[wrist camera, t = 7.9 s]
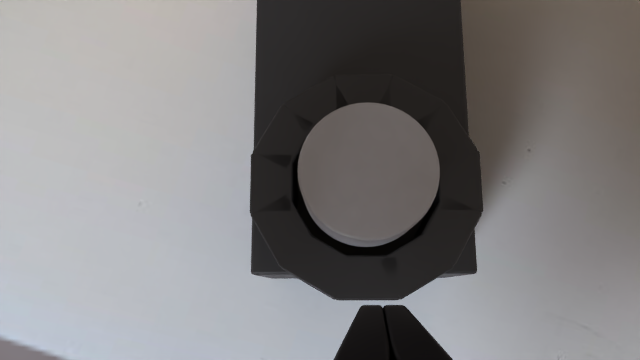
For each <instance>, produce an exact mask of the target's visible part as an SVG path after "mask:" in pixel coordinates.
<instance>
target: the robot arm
mask: <svg viewBox="0 0 640 360" xmlns="http://www.w3.org/2000/svg"><path fill="white" fill-rule="evenodd" d="M334 360H453V359H452V358H451V357H450V356H449V355H448V354H447V352H446V351H445V350H444V349H443V348H442V347H441V346H440V345H439V344H438V342H437V341H436V340H435V339H434V338H433V337H432V336H431V335H430V333H429V332H428V331H427V330H426V329H425V328H424V327H423V326H422V325H421V323H420V322H419V321H418V320H417V319H416V318H415V317H414V316H413V314H412V313H411V312H410V311H409V310H408V309H407V308H406V307H405V306H403V305H386V306H384V308H382V307H381V306H380V305H363V306H361V307H360V309H359V311H358V313H357V315H356V317H355V319H354V320H353V322H352V324H351V326H350V328H349V330H348V332H347V334H346V336H345V338H344V340H343V342H342V344H341V346H340V348H339V350H338V352H337V354H336V356H335V358H334Z"/></svg>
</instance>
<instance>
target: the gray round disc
mask: <svg viewBox="0 0 640 360" xmlns="http://www.w3.org/2000/svg"><path fill="white" fill-rule="evenodd" d="M439 179H440V167H439V159H438V155H437V151H436V149H435V146H434V144H433V142H432V140H431V138H430V137H429V135H428V134H427V132H426V131H425V130H424V128H423V127H422V126H421V125H420V124H419V123H418V122H417V121H416V120H415V119H413V118H412V117H411V116H410V115H408V114H406V113H405V112H403V111H401V110H399V109H397V108H394V107H392V106H388V105H385V104H379V103H368V102H366V103H356V104H351V105H347V106H344V107H341V108H339V109H337V110H335V111H333V112H331V113H330V114H328V115H327V116H325V117H324V118H323V119H322V120H320V121H319V122H318V123H317V124H316V125H315V126H314V128H313V129H312V130H311V131H310V133H309V134H308V136H307V138H306V140H305V141H304V143H303V146H302V149H301V152H300V155H299V160H298V182H299V187H300V190H301V193H302V196H303V199H304V202H305V205H306V207H307V210H308V212H309V214H310V216H311V217H312V219H313V220H314V222H315V223H316V224H317V225H318V226H319V228H320V229H321V230H323V231H324V232H325V233H326V234H327V235H329V236H330V237H332V238H333V239H335V240H337V241H339V242H342V243H345V244H348V245H352V246H357V247H374V246H379V245H384V244H386V243H389V242H392V241H394V240H396V239H397V238H399V237H400V236H402V235H403V234H405V233H406V232H407V231H408V230H410V229H411V228H412V227H413V226H414V225H415V224H416V223H418V222H419V221H420V220H421V219H422V218H423V216H424V215H425V214H426V213H427V211H428V210H429V208H430V207H431V205H432V203H433V201H434V199H435V196H436V193H437V190H438V186H439Z"/></svg>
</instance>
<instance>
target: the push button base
mask: <svg viewBox="0 0 640 360" xmlns="http://www.w3.org/2000/svg"><path fill="white" fill-rule="evenodd" d="M366 102H368V103H379V104H385V105H388V106H392V107H394V108H397V109H399V110H401V111H403V112H405V113H406V114H408V115H410V116H411V117H412V118H413V119H415V120H416V121H417V122H418V123H419V124H420V125H421V126H422V127H423V128H424V130H425V131H426V132H427V134H428V135H429V137H430V138H431V140H432V142H433V144H434V146H435V149H436V151H437V155H438V159H439V167H440V179H439V186H438V190H437V193H436V196H435V199H434V201H433V203H432V205H431V207H430V208H429V210H428V211H427V213H426V214H425V215H424V216H423V218H422V219H421V220H420V221H419V222H418V223H416V224H415V225H414V226H413V227H412V228H411V229H410V230H408V231H407V232H406V233H405V234H403V235H402V236H400V237H399V238H397V239H396V240H394V241H392V242H389V243H386V244H384V245H379V246H374V247H357V246H352V245H348V244H345V243H342V242H339V241H337V240H335V239H333V238H332V237H330V236H329V235H327V234H326V233H325V232H324V231H323V230H321V229H320V228H319V226H318V225H317V224H316V223H315V222H314V220H313V219H312V217H311V216H310V214H309V212H308V210H307V207H306V205H305V202H304V199H303V196H302V193H301V190H300V187H299V182H298V160H299V155H300V152H301V149H302V146H303V143H304V141H305V140H306V138H307V136H308V134H309V133H310V131H311V130H312V129H313V128H314V126H315V125H316V124H317V123H318V122H319V121H320V120H322V119H323V118H324V117H325V116H327V115H328V114H330V113H331V112H333V111H335V110H337V109H339V108H341V107H344V106H347V105H351V104H356V103H366ZM482 211H483V201H482V185H481V170H480V154H479V151H477V148H476V146H475V145H474V144H473V142H472V141H471V139H470V138H469V132H468V116H467V100H466V83H465V67H464V51H463V35H462V18H461V2H460V0H257V26H256V72H255V117H254V151H253V154H252V155H251V186H250V213H251V217H252V254H251V273H252V274H254V275H258V276H263V277H268V278H298V279H300V280H302V281H303V282H305V283H307V284H308V285H310V286H312V287H314V288H315V289H317V290H319V291H320V292H322V293H324V294H326V295H327V296H329V297H331V298H332V299H336V300H399V299H403V298H404V297H406V296H408V295H409V294H411V293H413V292H414V291H416V290H418V289H419V288H421V287H422V286H424V285H426V284H427V283H429V282H431V281H432V280H434V279H436V278H445V277H453V276H461V275H468V274H475V273H476V272H477V263H476V246H475V230H474V228H475V226H476V224H477V222H478V221H479V219H480V217H481V212H482Z"/></svg>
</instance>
